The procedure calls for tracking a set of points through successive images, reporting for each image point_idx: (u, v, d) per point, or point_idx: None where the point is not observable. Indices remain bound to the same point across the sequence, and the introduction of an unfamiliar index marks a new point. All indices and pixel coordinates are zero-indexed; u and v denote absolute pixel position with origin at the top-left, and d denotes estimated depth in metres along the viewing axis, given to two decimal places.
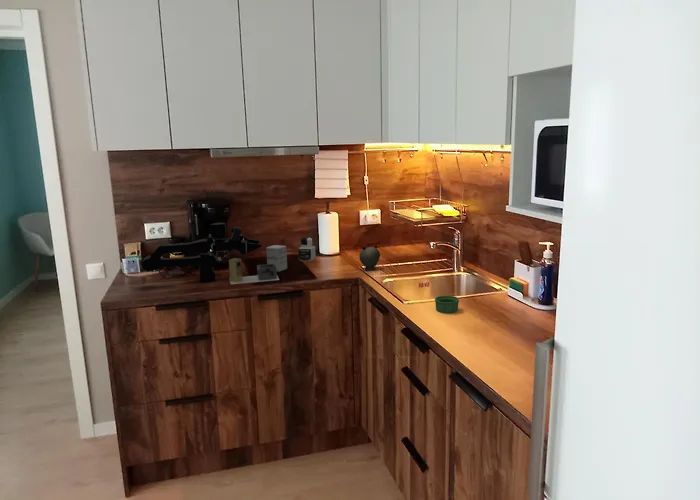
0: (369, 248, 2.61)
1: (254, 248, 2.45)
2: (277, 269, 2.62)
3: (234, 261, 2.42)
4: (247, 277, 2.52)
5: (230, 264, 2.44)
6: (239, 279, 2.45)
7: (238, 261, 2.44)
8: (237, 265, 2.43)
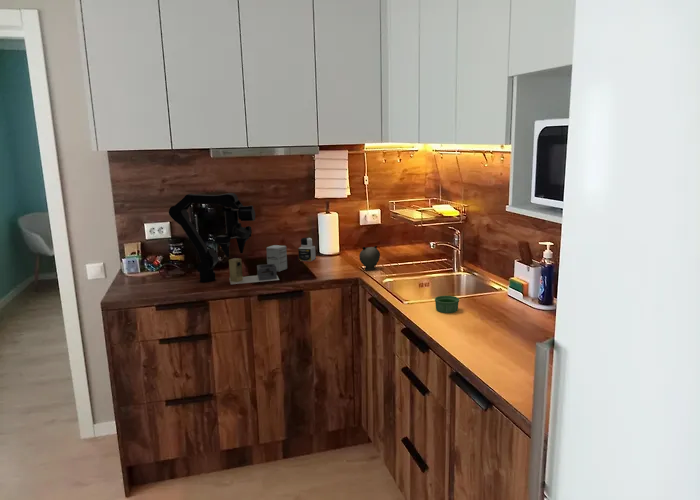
0: (369, 248, 2.61)
1: (223, 250, 2.39)
2: (277, 269, 2.62)
3: (234, 261, 2.42)
4: (247, 277, 2.52)
5: (230, 264, 2.44)
6: (239, 279, 2.45)
7: (238, 261, 2.44)
8: (237, 265, 2.43)
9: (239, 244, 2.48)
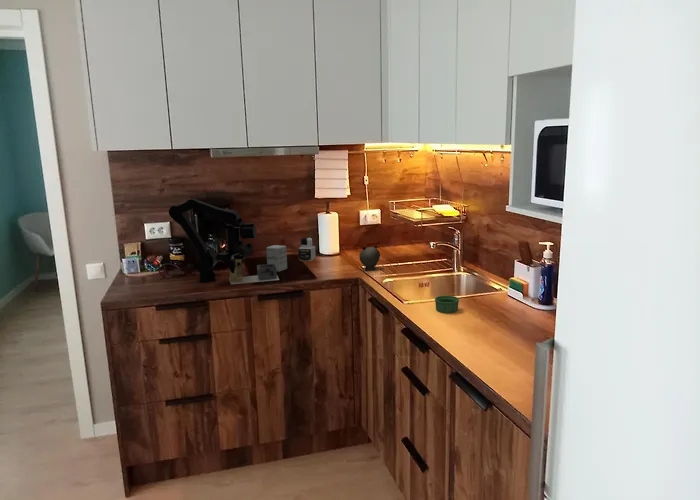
0: (369, 248, 2.61)
1: (228, 266, 2.43)
2: (277, 269, 2.62)
3: (234, 261, 2.42)
4: (247, 277, 2.52)
5: None
6: (239, 279, 2.45)
7: (238, 261, 2.44)
8: (237, 265, 2.43)
9: None
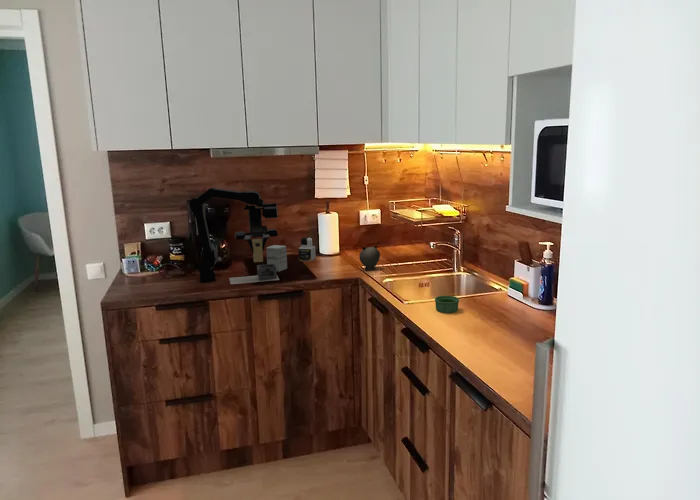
0: (369, 248, 2.61)
1: None
2: (277, 269, 2.62)
3: (252, 241, 2.44)
4: (247, 277, 2.52)
5: (252, 243, 2.46)
6: (258, 260, 2.45)
7: (257, 242, 2.44)
8: (255, 246, 2.44)
9: (262, 243, 2.47)
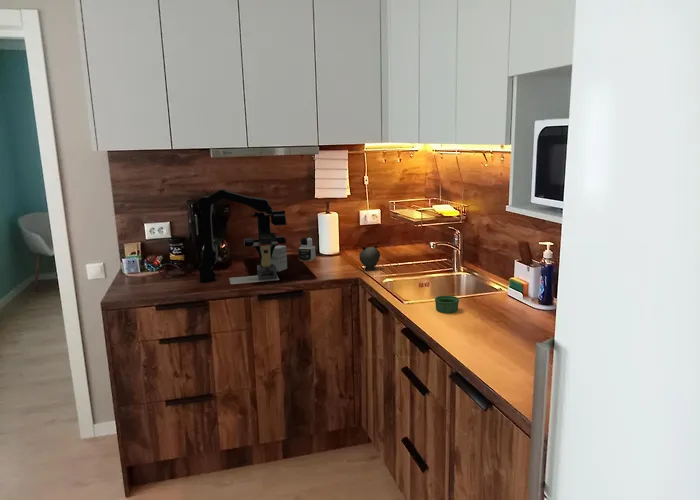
0: (369, 248, 2.61)
1: (258, 252, 2.48)
2: (277, 269, 2.62)
3: (261, 248, 2.45)
4: (247, 277, 2.52)
5: None
6: (266, 267, 2.47)
7: (265, 249, 2.45)
8: (263, 252, 2.45)
9: (270, 250, 2.49)
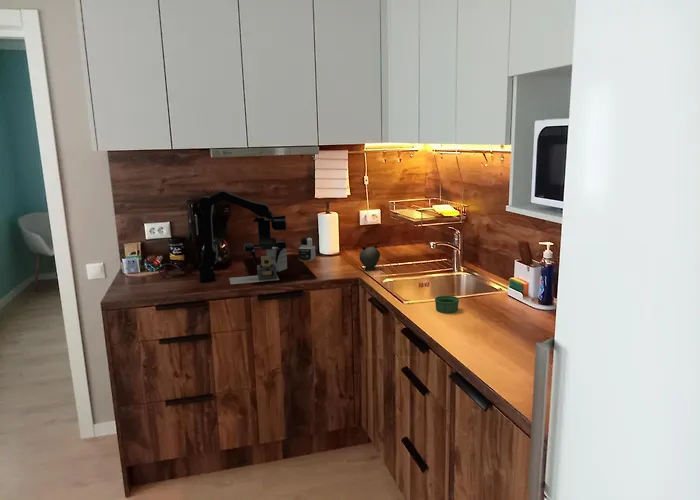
0: (369, 248, 2.61)
1: None
2: (277, 269, 2.62)
3: (261, 258, 2.46)
4: (247, 277, 2.52)
5: (261, 260, 2.49)
6: None
7: (266, 259, 2.46)
8: (264, 263, 2.46)
9: (275, 254, 2.50)
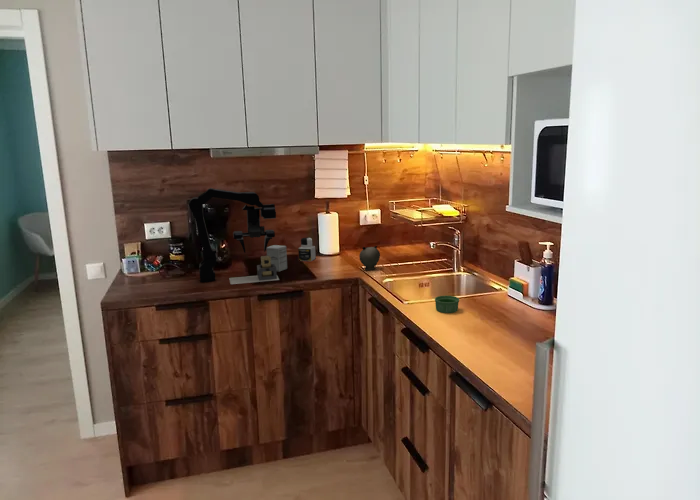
0: (369, 248, 2.61)
1: None
2: (277, 269, 2.62)
3: (261, 258, 2.46)
4: (247, 277, 2.52)
5: (261, 260, 2.49)
6: None
7: (266, 259, 2.46)
8: (264, 263, 2.46)
9: (264, 243, 2.52)
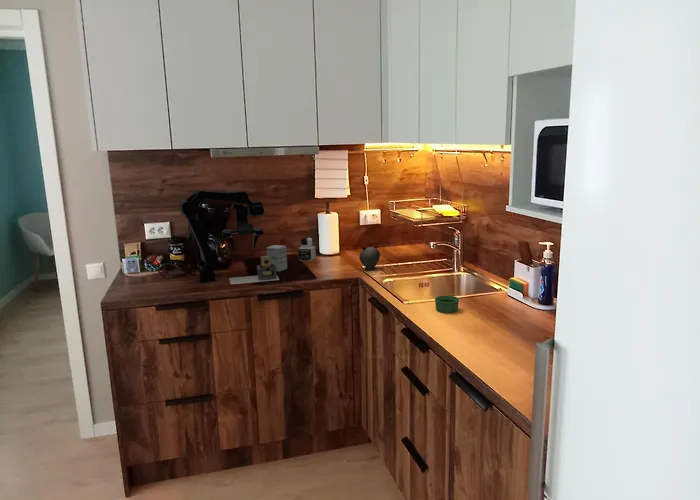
0: (369, 248, 2.61)
1: None
2: (277, 269, 2.62)
3: (261, 258, 2.46)
4: (247, 277, 2.52)
5: (261, 260, 2.49)
6: None
7: (266, 259, 2.46)
8: (264, 263, 2.46)
9: (253, 240, 2.56)
